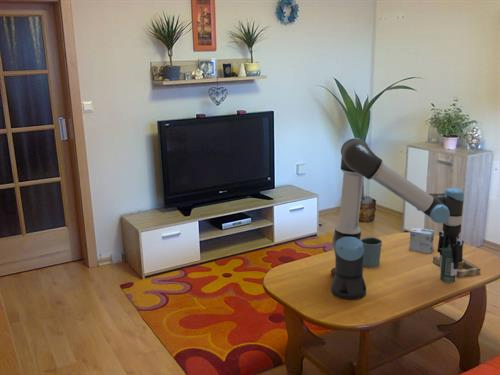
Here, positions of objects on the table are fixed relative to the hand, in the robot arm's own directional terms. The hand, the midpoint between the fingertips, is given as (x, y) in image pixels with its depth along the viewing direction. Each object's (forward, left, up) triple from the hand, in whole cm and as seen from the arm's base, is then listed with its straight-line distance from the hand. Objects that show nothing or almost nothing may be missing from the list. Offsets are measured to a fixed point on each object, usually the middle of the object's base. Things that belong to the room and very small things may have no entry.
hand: (448, 271), depth 230 cm
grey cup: (-23, +28, -4) cm, 36 cm away
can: (0, 0, -4) cm, 4 cm away
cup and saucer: (-41, +21, -4) cm, 46 cm away
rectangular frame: (+11, +9, -4) cm, 15 cm away
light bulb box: (+10, +34, -4) cm, 36 cm away
